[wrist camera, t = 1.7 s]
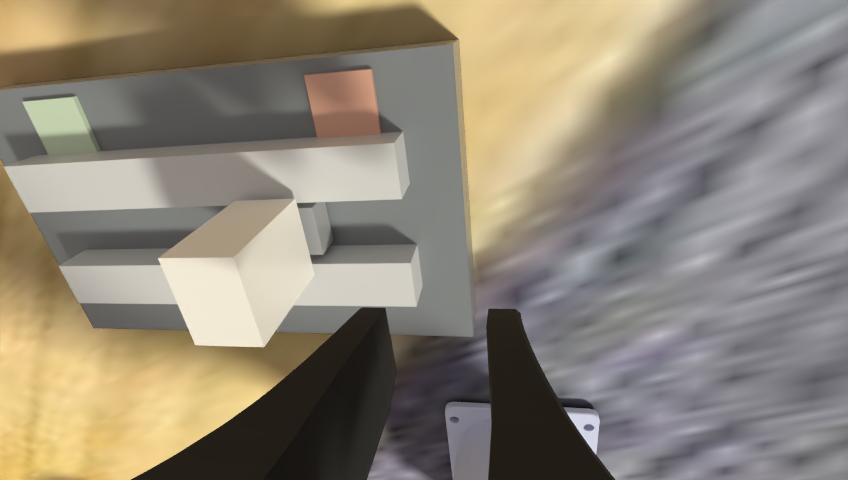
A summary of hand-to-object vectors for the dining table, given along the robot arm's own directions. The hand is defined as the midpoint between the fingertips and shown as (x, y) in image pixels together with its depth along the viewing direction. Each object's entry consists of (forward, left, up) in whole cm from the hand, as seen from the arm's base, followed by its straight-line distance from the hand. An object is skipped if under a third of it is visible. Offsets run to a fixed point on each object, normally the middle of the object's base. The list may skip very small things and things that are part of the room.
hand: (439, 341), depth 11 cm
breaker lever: (0, +7, -7) cm, 10 cm away
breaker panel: (0, +10, -9) cm, 14 cm away
